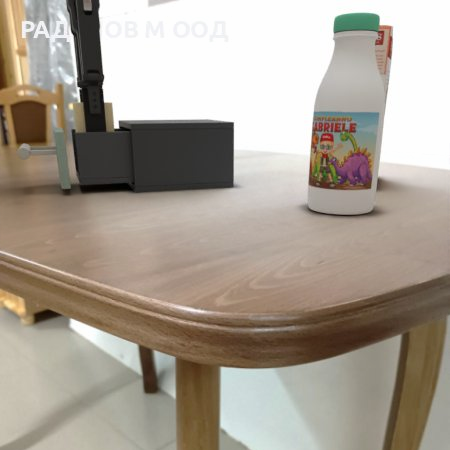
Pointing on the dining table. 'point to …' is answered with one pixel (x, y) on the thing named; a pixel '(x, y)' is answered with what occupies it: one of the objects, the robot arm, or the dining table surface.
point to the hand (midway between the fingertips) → (95, 137)
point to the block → (80, 118)
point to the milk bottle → (348, 121)
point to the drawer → (91, 156)
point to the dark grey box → (181, 154)
